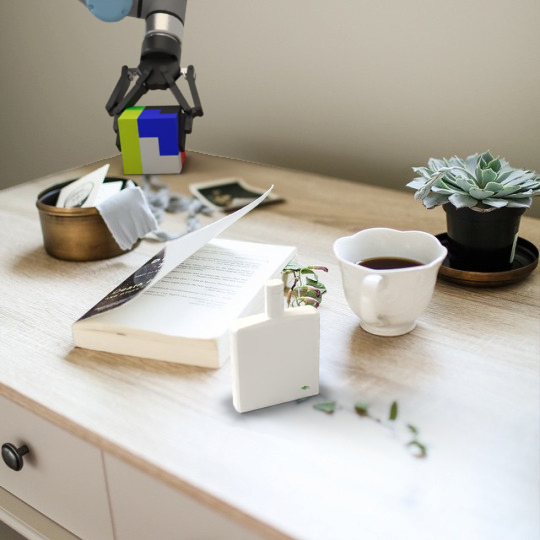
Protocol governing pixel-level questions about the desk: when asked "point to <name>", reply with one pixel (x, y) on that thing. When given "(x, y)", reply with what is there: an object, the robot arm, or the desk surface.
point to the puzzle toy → (151, 139)
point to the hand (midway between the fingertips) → (150, 148)
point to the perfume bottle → (274, 353)
